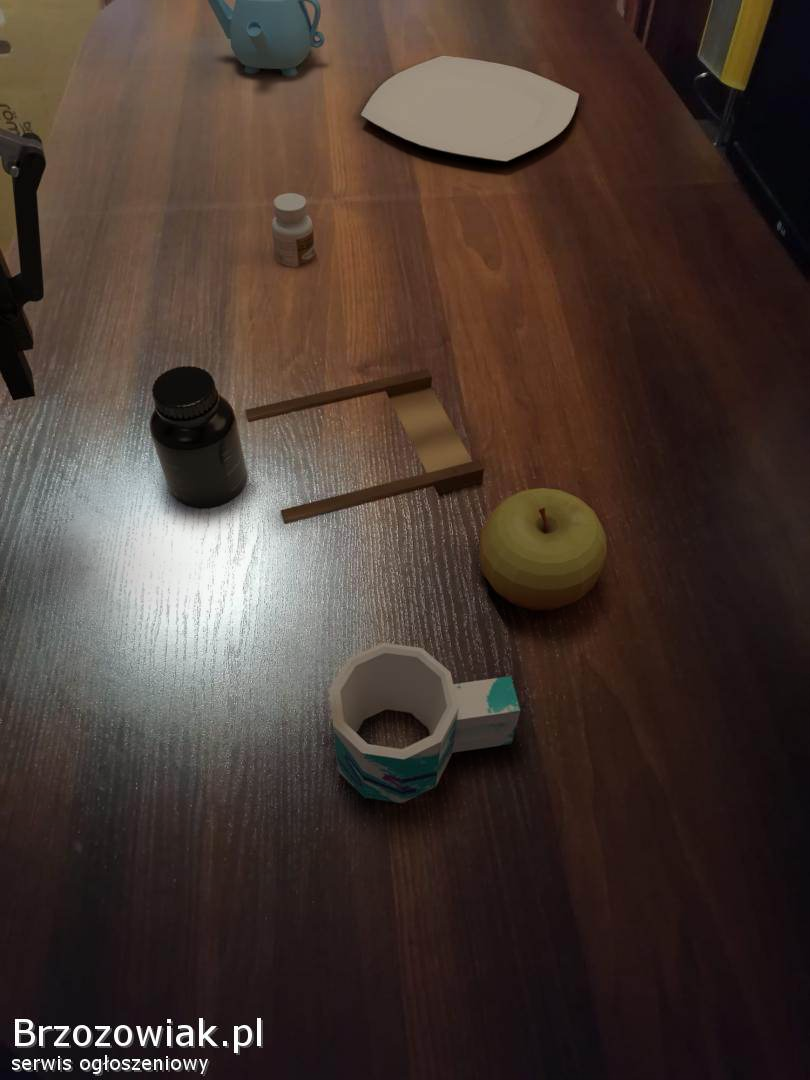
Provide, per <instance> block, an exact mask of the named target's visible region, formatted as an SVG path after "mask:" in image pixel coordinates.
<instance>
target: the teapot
mask: <svg viewBox="0 0 810 1080" xmlns="http://www.w3.org/2000/svg"><path fill="white" fill-rule="evenodd" d="M207 2H208V4H209V5H210V7H211V10H212V12H213V13H214V16H215V17H216V19H217V21H218V23H219V25H220V27H221V29H222V31H223V33H224V34H225V36H226V38H227V40H230V47H231V50H232V52H233V54H234V56H235V57H236V58H237V60H238V61H239V62H240V64H242V65H243V66H245V67H244V72H245V73H247V74H258V73H259V72H260V71H261V69H266V70H267V69H269V70H271V69H272V70H280V71H281V74H282V75H283V76H285V77H292V76H296V75H297V74H298V71H297V69H296V67H298V66H299V65H300V64H302V63H303V62H304V60H306V58H307V56H308V55H309V53H310V51H311V49H312V48H315V49H317V48H321V47H323V45H324V44H325V36H324V34H323V33H322V31H319V30H318V27H319V23H320V19H321V15H322V14H321V13H322V9H321V3H320V1H319V0H235V1H234V5H233V9H232V8H231V7H230V6H229V5H228V3H227V2H226V1H225V0H207ZM305 2H306V3H307V2H308V3H310V4H312V6H313V8H314V17H313V20H312V21H311V18H310V14H309V11H308V8H307V6H306V3H305ZM316 37H317V38H318V40H316Z"/></svg>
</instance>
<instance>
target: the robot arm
mask: <svg viewBox="0 0 810 1080" xmlns="http://www.w3.org/2000/svg"><path fill="white" fill-rule="evenodd" d="M0 157H1V158H0V159H1V165H2V169H3V171H4V172H5V173H6V174H8V175H10V176H11V182H12V183H11V184H12V193H13V205H14V214H15V215H14V216H15V226H16V227H15V228H16V237H17V238H16V239H17V248H18V249H17V250H18V258H19V259H18V260H19V269H20V270H19V271H20V272H19V273H17V274H16V275H13V276H12V274H11V271H10V268H9V267H8V263H7V261H6V259H5V256H4V253H3V251H2V248H0V374H1V377H2V379H3V382H4V383H5V386H6V388H7V390H8V392H9V394H10V397H11V399H12V401H18V400H23V399H28V398H33V397H36V392H35V391H36V390H35V383H34V376H33V371H32V369H31V366H30V364H29V362H28V359H27V357H26V354H25V351H31V350H34V345H35V341H34V334H33V330H32V327H31V324H30V322H29V319H28V317H27V315H26V311H25V309H24V306H25V305H26V304H27V303H29V302H33V303H35V302H40V301H41V300H43V298H44V296H45V290H44V289H45V288H44V277H43V276H44V275H43V261H42V247H41V232H40V219H39V205H38V204H39V203H38V190H39V186H40V184H41V182H42V178H43V175H44V172H45V170H46V167H47V161H46V156H45V151H44V145H43V141H42V138H41V137H40V136H39V135H38V134H36V133H34V132H31V131H30V132H29V131H28V132H24V133H23V134H22V135H20V134H17V133H14V132H11V131H9V130H6V129H4V128H1V127H0Z"/></svg>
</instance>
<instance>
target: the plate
mask: <svg viewBox="0 0 810 1080" xmlns="http://www.w3.org/2000/svg"><path fill="white" fill-rule="evenodd" d="M579 97H580V94H579V92H576V91H574V90H572V89H570V88H568V87H566V86H564V85H562V84H560V83H557V82H555V81H553V80H551V79H549V78H546V77H545V76H542V75H538V74H536V73H533V72H532V71H529V70H526V69H522V68H519V67H515V66H510V65H507V64H504V63H498V62H491V61H487V60H480V59H474V58H467V57H459V56H451V55H441V56H438V57H434V58H432V59H430V60H427V61H423V62H421V63H418V64H416V65H413V66H411V67H409V68H407V69H404V70H402V71H400V72H398V73H396V74H394V75H393V76H391V77H390V78H388V79H387V80H386V81H384V82H383V83H381V85H380V86H378V88H377V89H376V90H375V91H374V93H373V94H372V95H371V97H370V98H369V99H368V101H367V103H366V104H365V106H364V108H363V109H362V112H361V113H360V117H361V118H363V119H364V120H366V121H368V122H370V123H371V124H373V125H374V126H376V127H378V128H380V129H382V130H383V131H385V132H387V133H389V134H391V135H393V136H395V137H397V138H400V139H402V140H403V141H405V142H408V143H410V144H414V145H416V146H419V147H422V148H425V149H430V150H432V151H438V152H440V153H441V152H442V153H446V154H452V155H455V156H460V157H466V158H472V159H478V160H484V161H493V162H499V163H509V162H511V161H513V160H515V159H518V158H519V157H522V156H524V155H526V154H528V153H530V152H534V150H538V149H539V148H540V147H542V146H545V145H546V144H548V143H549V142H551V141H553V140H554V139H555V138H556V137H558V136H559V135H560V134H561V133H562V132H563V131H564V130H565V129H566V128H567V127H568V125H569V124H570V122H571V120H572V118H573V116H574V115H575V111H576V108H577V105H578V101H579Z"/></svg>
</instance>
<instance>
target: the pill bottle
mask: <svg viewBox="0 0 810 1080" xmlns="http://www.w3.org/2000/svg"><path fill="white" fill-rule="evenodd" d="M273 212H274V216H275V217H274V218H273V220H272V221H271V232H272V240H273V249H274V258H275V260H276V261H277V262H278V263H279V264H281V265H283V266H285V267H286V266H287V267H292V268H293V267H294V268H295V267H296V268H297V267H301V266H302V267H303V266H306V265H308V264H309V263H311V262H312V261H313V260H314V258H315V254H316V252H315V251H316V250H315V239H314V238H315V237H314V225H313V220H312V218H311V217H310V216H309V215H308V206H307V199H306V198H305V197H304V196H303V195H301V194H299V193H296V192H288V193H283V194H282V193H281V194H279V195H278V196H277V197H276V196H275V199H273Z"/></svg>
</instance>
